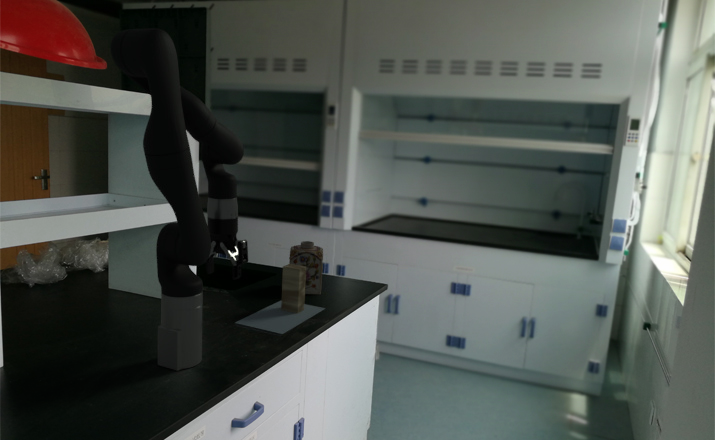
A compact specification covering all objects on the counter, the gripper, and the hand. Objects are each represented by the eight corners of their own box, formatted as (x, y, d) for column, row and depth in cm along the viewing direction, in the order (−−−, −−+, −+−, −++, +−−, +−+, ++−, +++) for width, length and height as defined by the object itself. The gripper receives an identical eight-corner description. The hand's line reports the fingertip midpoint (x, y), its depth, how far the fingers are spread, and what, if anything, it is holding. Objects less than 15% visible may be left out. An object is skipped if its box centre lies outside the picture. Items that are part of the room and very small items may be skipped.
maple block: (297, 313, 160) (299, 269, 158) (281, 309, 163) (282, 266, 161) (304, 309, 164) (306, 266, 162) (287, 306, 166) (289, 263, 164)
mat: (282, 336, 143) (282, 334, 143) (234, 325, 149) (234, 322, 149) (325, 310, 167) (325, 308, 167) (282, 301, 173) (282, 299, 173)
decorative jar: (321, 287, 193) (323, 239, 190) (321, 296, 181) (324, 246, 179) (288, 286, 192) (291, 238, 189) (287, 295, 180) (289, 244, 178)
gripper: (190, 213, 132) (192, 275, 135) (235, 220, 126) (235, 284, 129) (211, 209, 138) (211, 268, 141) (254, 216, 132) (254, 277, 135)
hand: (223, 275), depth 135 cm, fingers open, 8 cm apart
